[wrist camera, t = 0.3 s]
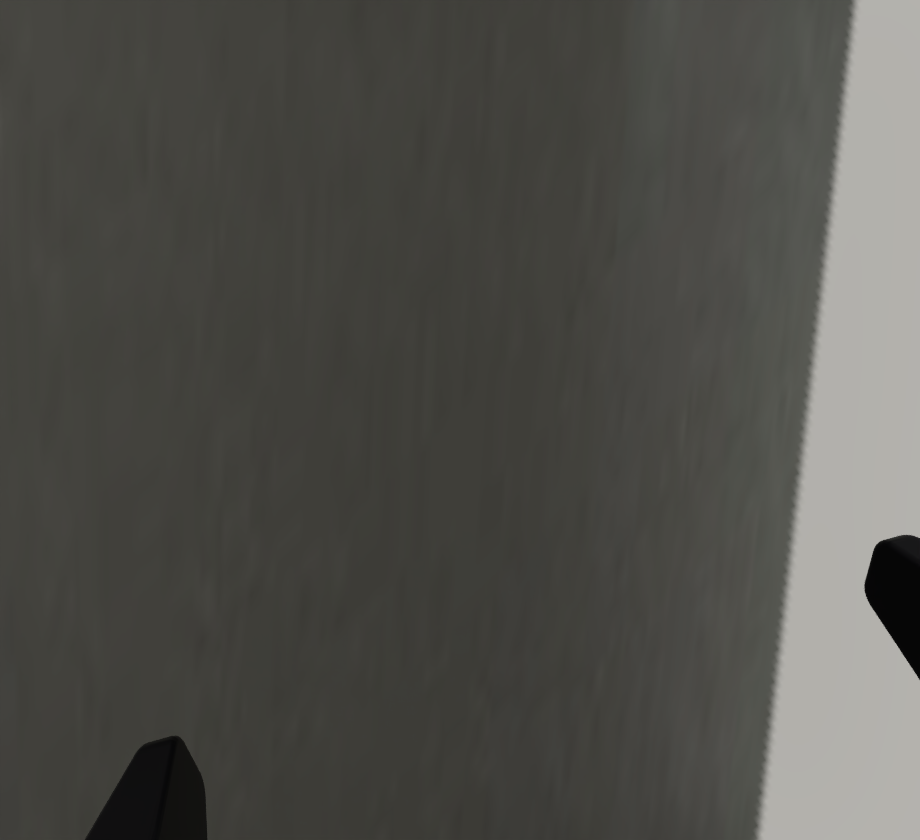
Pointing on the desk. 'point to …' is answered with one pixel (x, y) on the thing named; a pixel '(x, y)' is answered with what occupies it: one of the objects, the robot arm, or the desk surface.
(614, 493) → the desk surface
